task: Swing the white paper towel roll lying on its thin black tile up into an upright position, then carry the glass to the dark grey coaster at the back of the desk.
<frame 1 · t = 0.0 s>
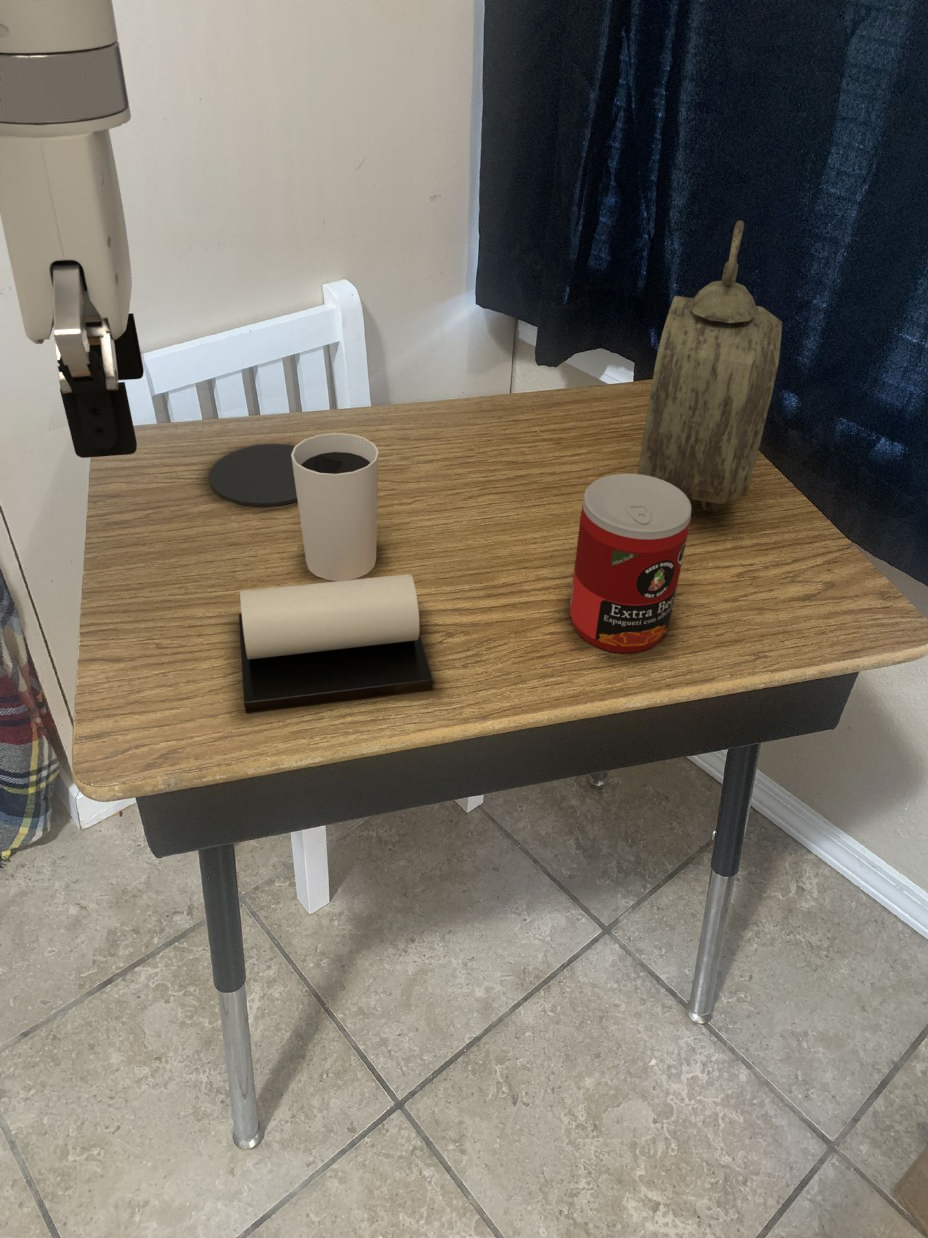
hand: (113, 413, 57), 20 cm above the table, tool pointing down, fingers open, 9 cm apart
towel roll: (330, 616, 69), point 4 cm above the table, hinge at 0.0°
canned food: (617, 624, 76), on the table
thin black tile: (333, 655, 72), on the table
wooden cowbell: (687, 509, 89), on the table
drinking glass: (341, 562, 81), on the table
coaster: (269, 475, 92), on the table
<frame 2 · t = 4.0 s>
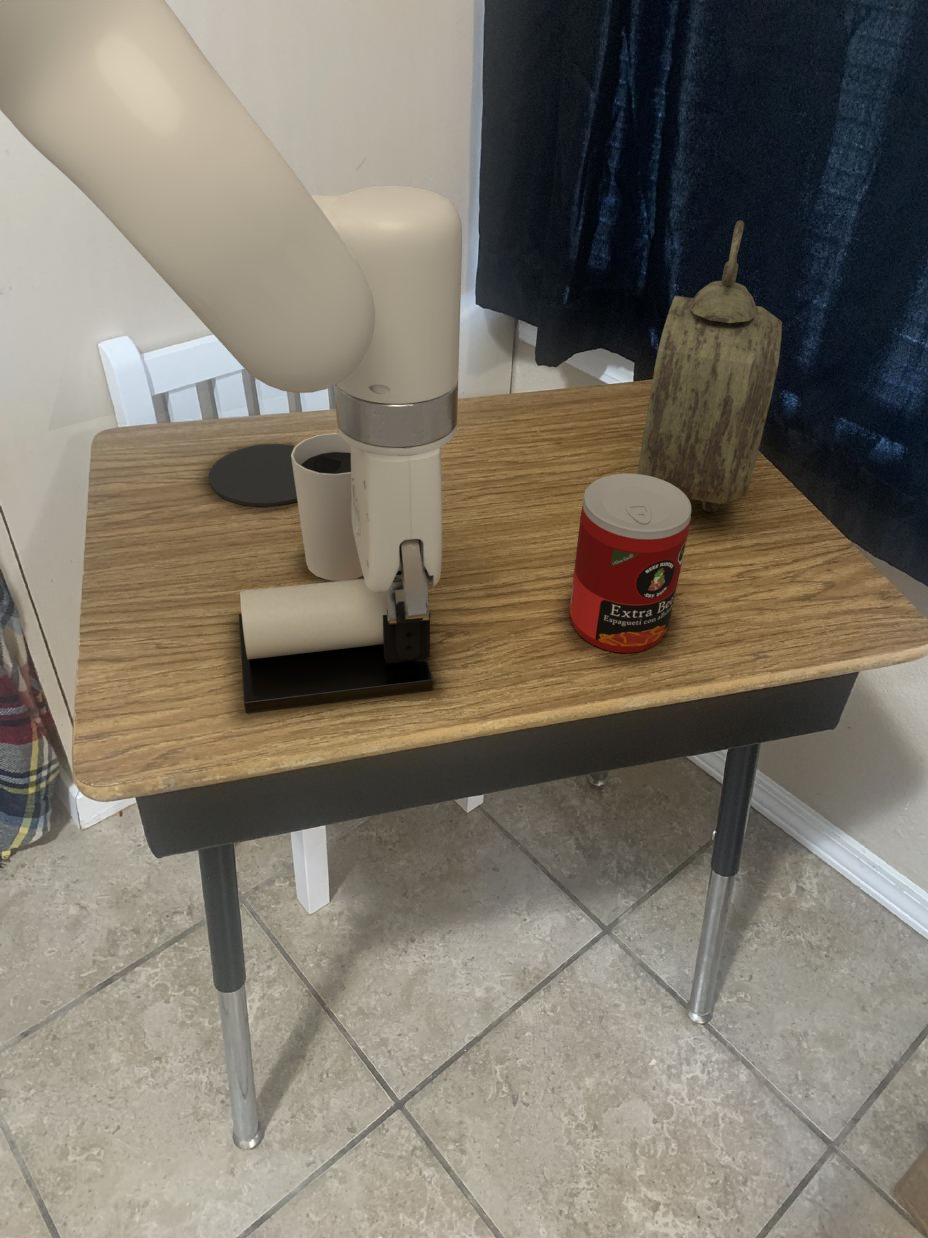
hand: (400, 632, 72), 2 cm above the table, tool pointing down, fingers closed on towel roll, 4 cm apart
towel roll: (330, 616, 69), point 4 cm above the table, hinge at 0.0°, touching gripper
everything else where it was.
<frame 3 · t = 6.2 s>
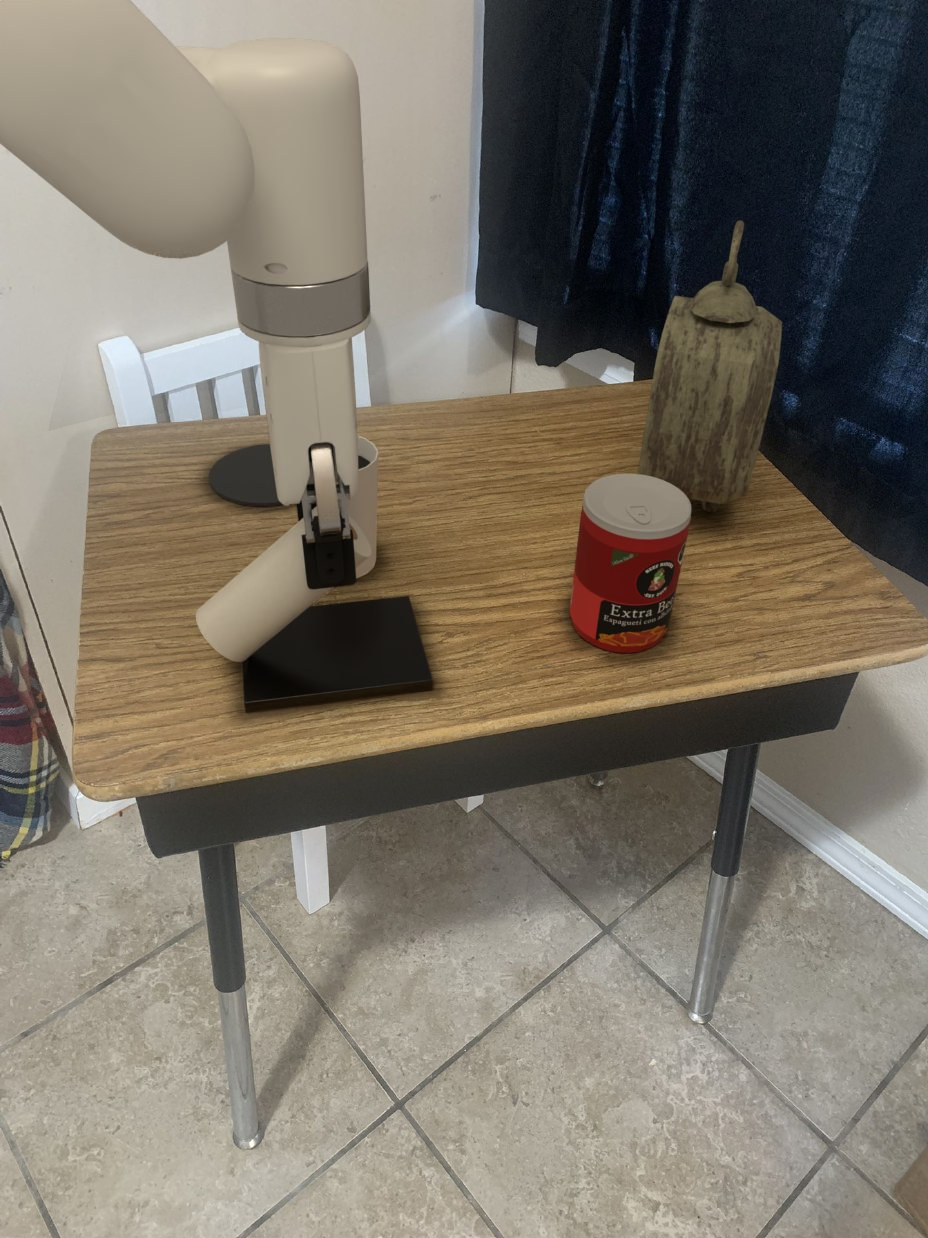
hand: (327, 557, 66), 9 cm above the table, tool pointing down, fingers closed on towel roll, 4 cm apart
towel roll: (283, 582, 67), point 7 cm above the table, hinge at 40.7°, touching gripper
everything else where it was.
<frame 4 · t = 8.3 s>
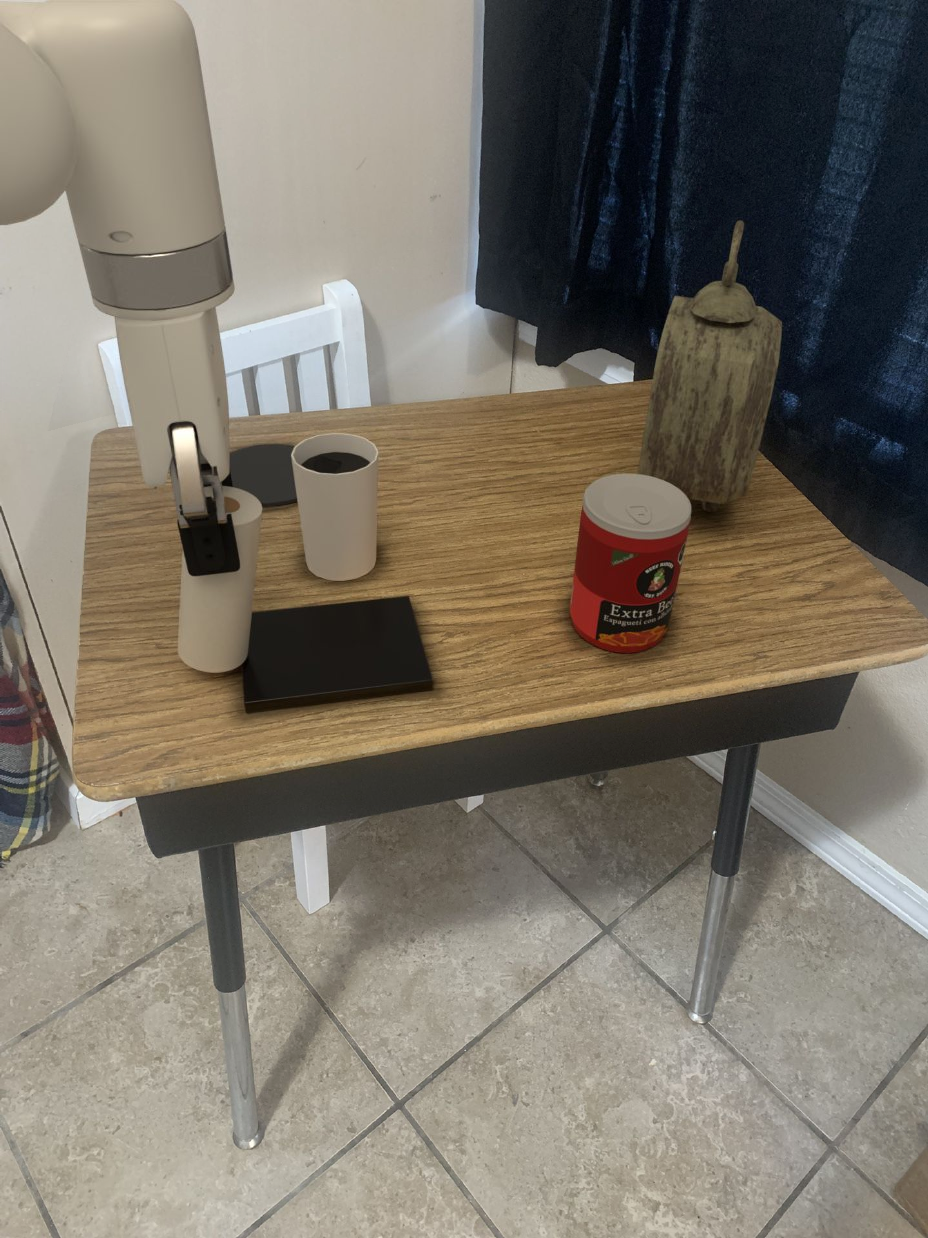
hand: (214, 543, 64), 11 cm above the table, tool pointing down, fingers closed on towel roll, 4 cm apart
towel roll: (218, 581, 66), point 8 cm above the table, hinge at 79.5°, touching gripper
everything else where it was.
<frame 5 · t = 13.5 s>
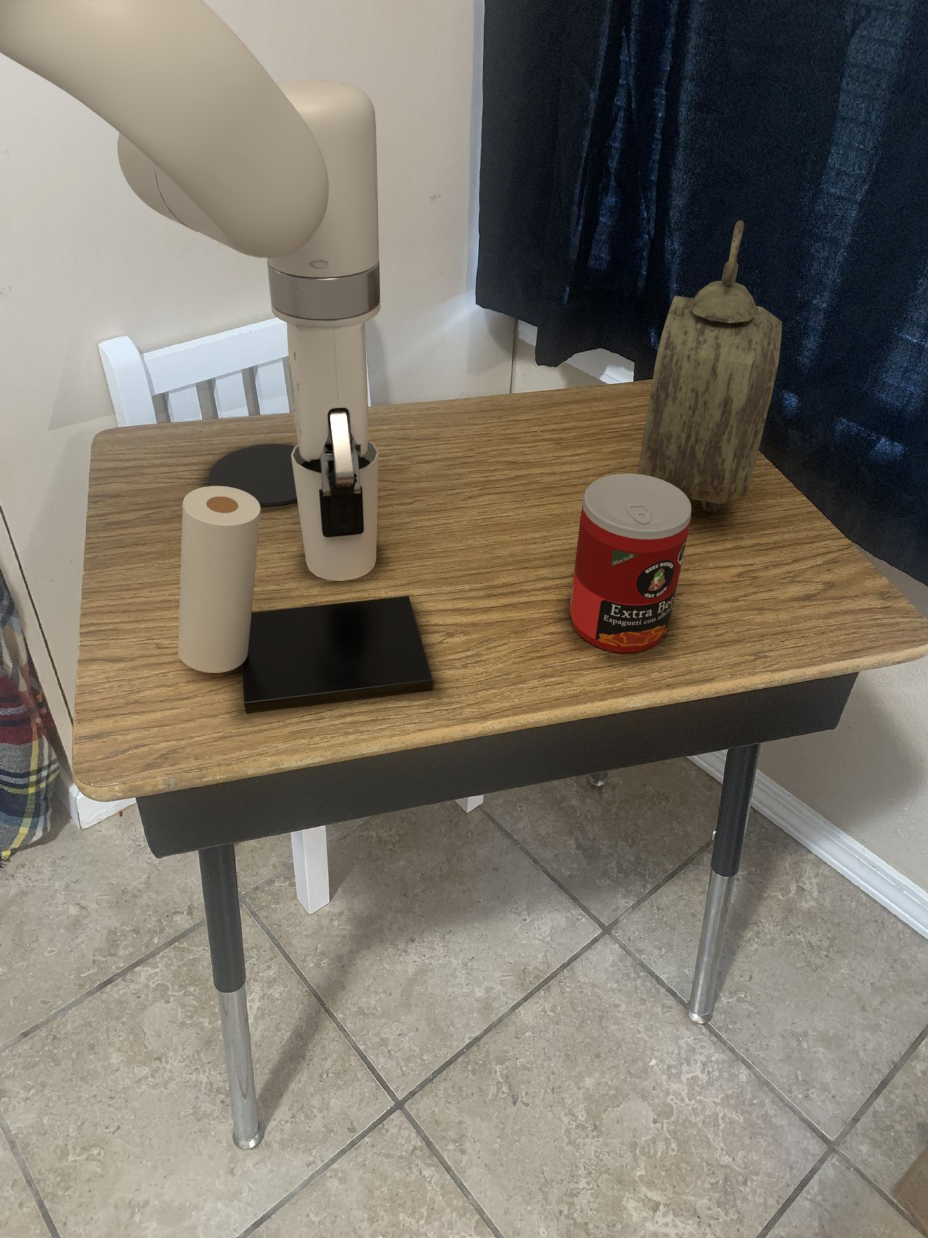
hand: (338, 509, 78), 5 cm above the table, tool pointing down, fingers closed on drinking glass, 5 cm apart
towel roll: (217, 581, 66), point 8 cm above the table, hinge at 80.1°
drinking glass: (341, 562, 81), on the table, touching gripper
everything else where it was.
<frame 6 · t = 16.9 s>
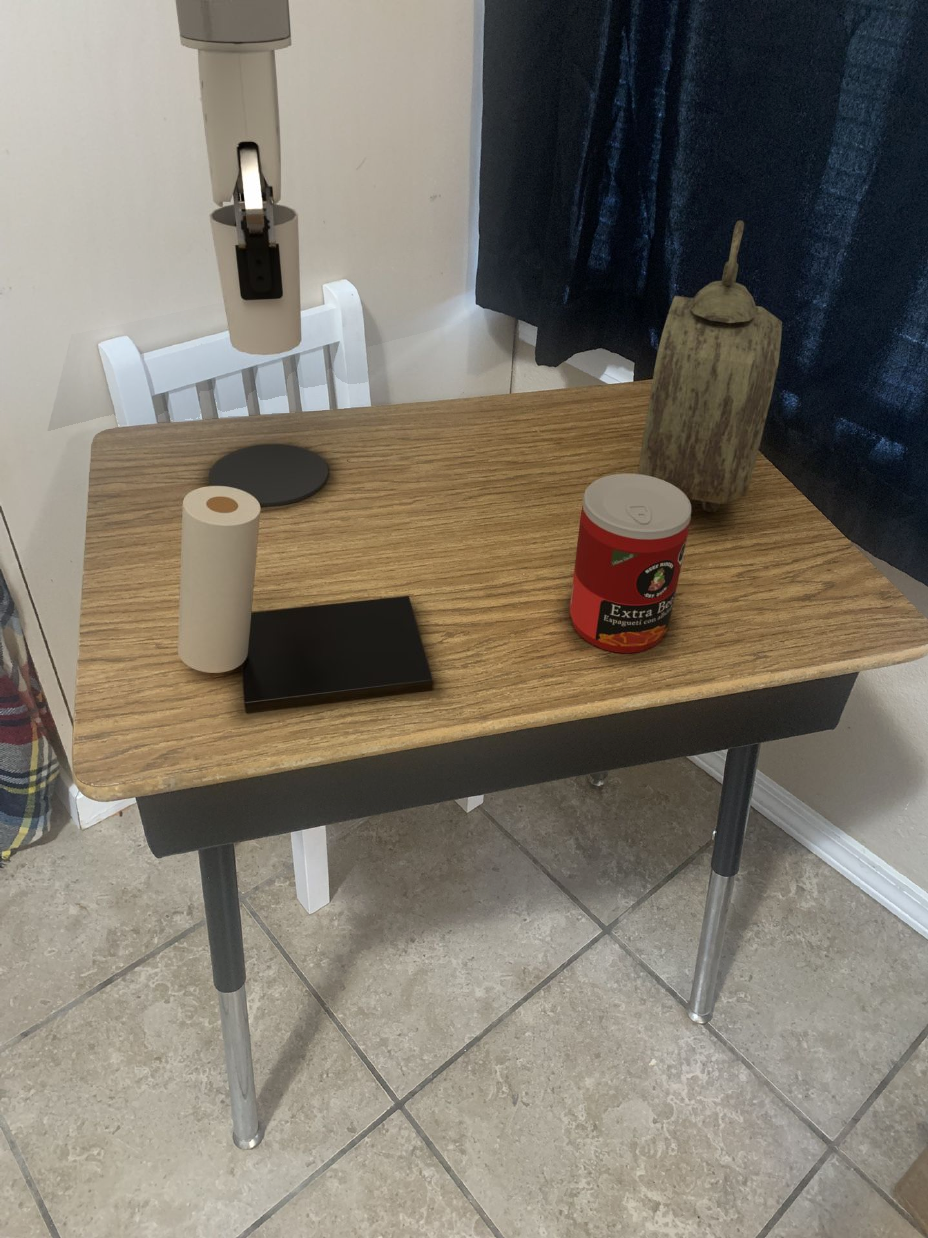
hand: (259, 281, 78), 19 cm above the table, tool pointing down, fingers closed on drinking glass, 5 cm apart
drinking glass: (266, 343, 81), point 14 cm above the table, touching gripper
everything else where it was.
when the fingers open (5 cm above the table, at t = 20.5 s): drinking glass stays where it is, resting on coaster.
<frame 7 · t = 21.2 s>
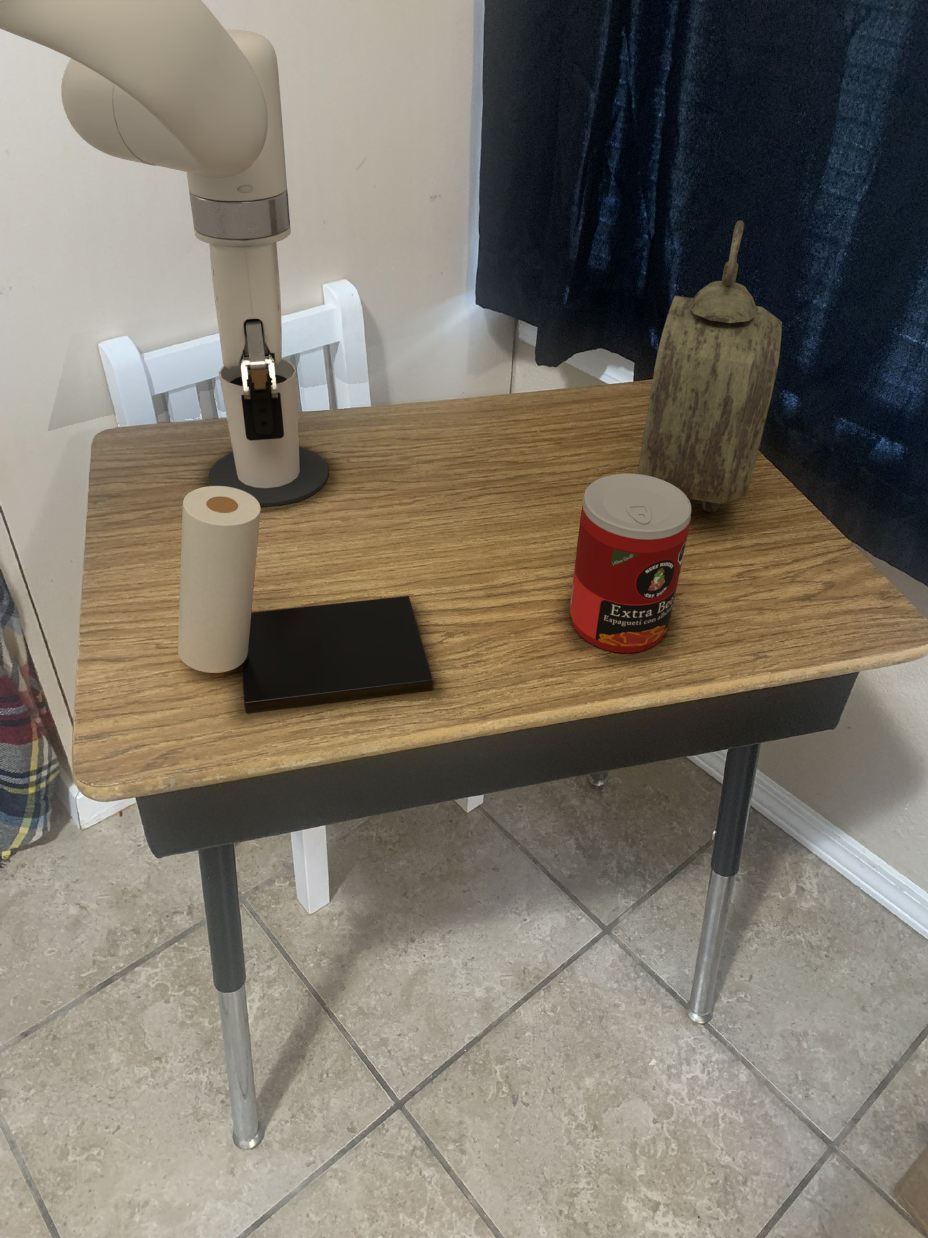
hand: (262, 412, 88), 6 cm above the table, tool pointing down, fingers open, 9 cm apart
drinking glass: (268, 474, 91), resting on coaster
everything else where it was.
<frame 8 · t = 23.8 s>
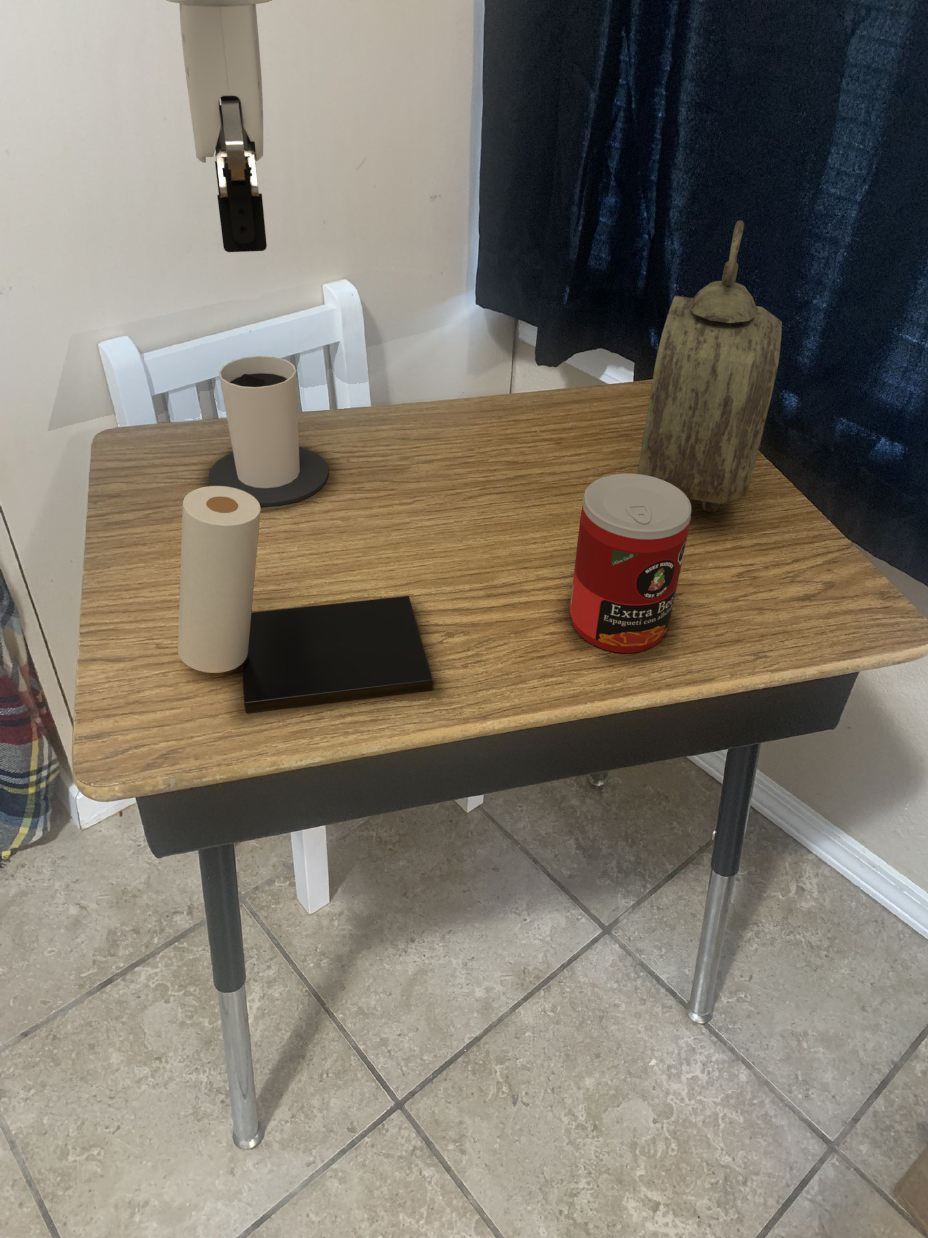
hand: (243, 230, 78), 22 cm above the table, tool pointing down, fingers open, 9 cm apart
nothing on the table moved.
at the end: towel roll at +80° (first picture: +0°); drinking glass 0.1 cm off-centre on the coaster, point 0.2 cm above the coaster's base; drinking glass tilted 0° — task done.
